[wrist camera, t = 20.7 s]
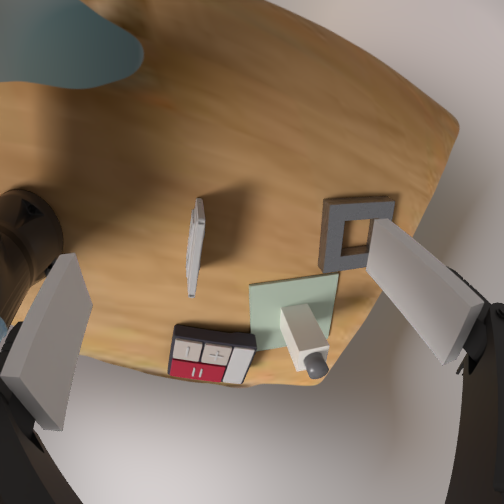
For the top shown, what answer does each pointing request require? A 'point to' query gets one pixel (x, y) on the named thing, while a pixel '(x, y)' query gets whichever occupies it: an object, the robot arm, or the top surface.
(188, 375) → the calculator
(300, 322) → the plug
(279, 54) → the top surface
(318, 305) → the mat
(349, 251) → the socket
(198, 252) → the cassette
